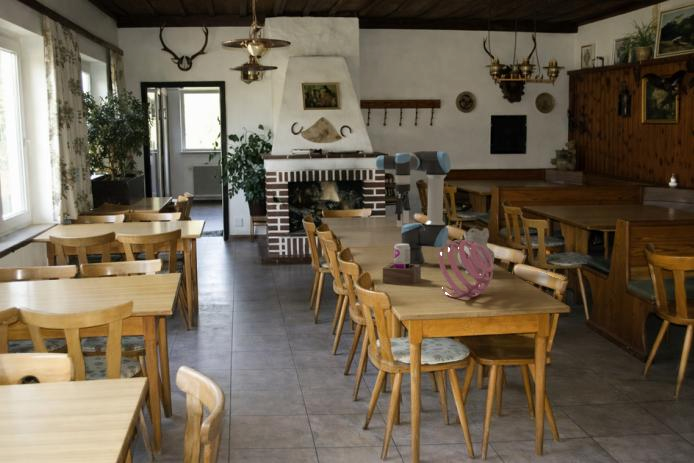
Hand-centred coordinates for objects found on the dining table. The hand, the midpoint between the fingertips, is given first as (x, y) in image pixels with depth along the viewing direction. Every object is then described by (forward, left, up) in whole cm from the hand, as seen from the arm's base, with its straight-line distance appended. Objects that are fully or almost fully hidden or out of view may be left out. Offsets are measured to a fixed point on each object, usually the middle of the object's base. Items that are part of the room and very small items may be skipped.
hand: (402, 225), depth 391 cm
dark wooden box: (+1, 0, -29) cm, 29 cm away
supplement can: (+1, 0, -25) cm, 25 cm away
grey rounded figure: (-30, +33, -29) cm, 53 cm away
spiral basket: (+27, +37, -29) cm, 54 cm away
